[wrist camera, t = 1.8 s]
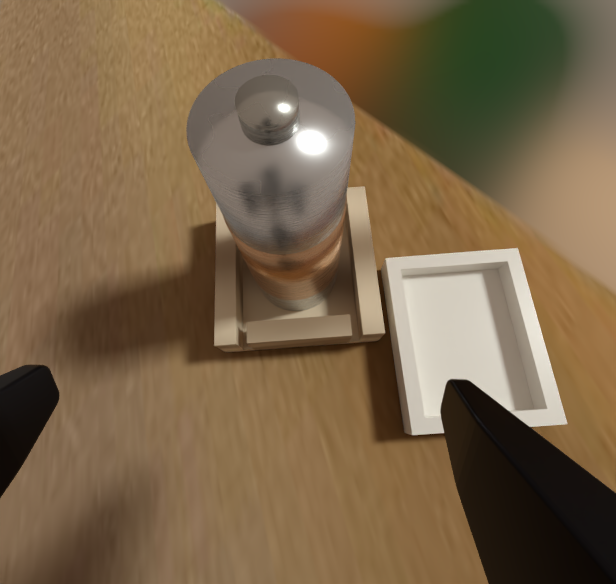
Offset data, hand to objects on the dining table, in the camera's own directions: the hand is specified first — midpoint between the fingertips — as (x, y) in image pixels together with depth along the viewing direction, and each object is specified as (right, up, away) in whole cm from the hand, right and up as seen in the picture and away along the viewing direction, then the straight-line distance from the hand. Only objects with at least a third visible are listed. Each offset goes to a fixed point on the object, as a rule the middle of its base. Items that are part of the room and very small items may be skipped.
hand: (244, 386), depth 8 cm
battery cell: (+1, +3, +15) cm, 15 cm away
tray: (+11, -1, +13) cm, 17 cm away
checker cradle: (+1, +3, +15) cm, 15 cm away
